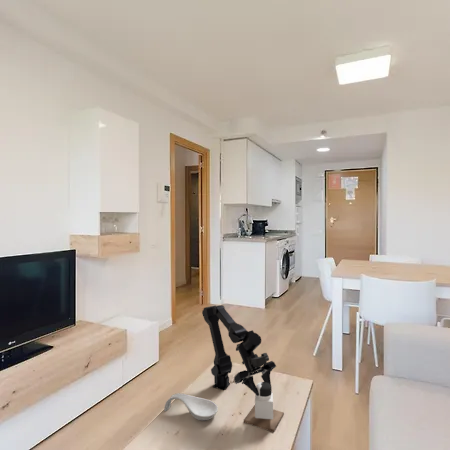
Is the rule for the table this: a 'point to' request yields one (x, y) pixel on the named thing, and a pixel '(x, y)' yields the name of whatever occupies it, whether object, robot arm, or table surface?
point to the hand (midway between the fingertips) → (264, 392)
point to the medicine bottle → (264, 401)
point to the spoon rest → (195, 406)
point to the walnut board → (264, 420)
